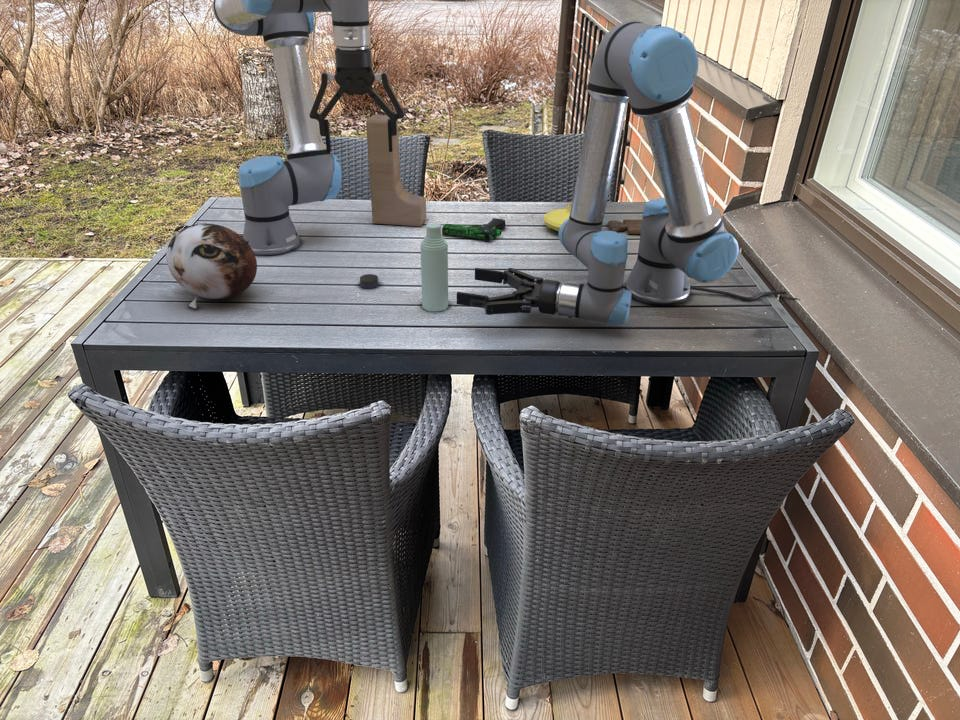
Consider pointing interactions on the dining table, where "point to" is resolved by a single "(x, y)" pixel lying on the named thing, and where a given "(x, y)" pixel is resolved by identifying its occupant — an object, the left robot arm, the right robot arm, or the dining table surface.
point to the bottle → (434, 269)
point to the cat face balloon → (211, 261)
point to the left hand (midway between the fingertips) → (360, 150)
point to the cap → (369, 281)
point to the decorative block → (389, 179)
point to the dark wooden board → (626, 226)
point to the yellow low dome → (557, 217)
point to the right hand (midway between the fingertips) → (466, 285)
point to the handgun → (476, 230)
